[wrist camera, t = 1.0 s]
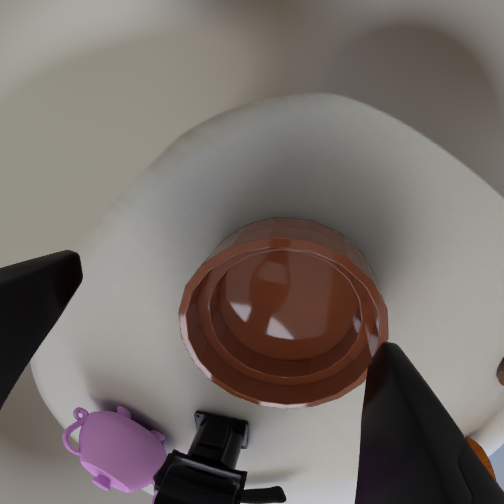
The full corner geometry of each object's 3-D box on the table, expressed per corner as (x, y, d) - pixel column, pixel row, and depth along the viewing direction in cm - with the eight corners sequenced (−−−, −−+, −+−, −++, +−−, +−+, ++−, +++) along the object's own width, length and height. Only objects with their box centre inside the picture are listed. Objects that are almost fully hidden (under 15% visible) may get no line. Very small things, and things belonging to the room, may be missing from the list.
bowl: (354, 373, 25) (357, 414, 20) (207, 355, 27) (189, 391, 22) (391, 227, 19) (412, 252, 15) (200, 209, 22) (170, 228, 17)
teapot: (213, 455, 35) (188, 523, 24) (172, 468, 41) (148, 520, 29) (98, 376, 33) (49, 438, 22) (80, 405, 39) (44, 452, 27)
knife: (184, 486, 44) (177, 504, 39) (178, 482, 43) (170, 500, 39) (291, 479, 35) (287, 505, 30) (285, 475, 34) (281, 502, 30)
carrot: (446, 450, 27) (460, 532, 14) (460, 431, 26) (479, 520, 12) (472, 443, 26) (489, 520, 13) (486, 424, 25) (509, 506, 11)
